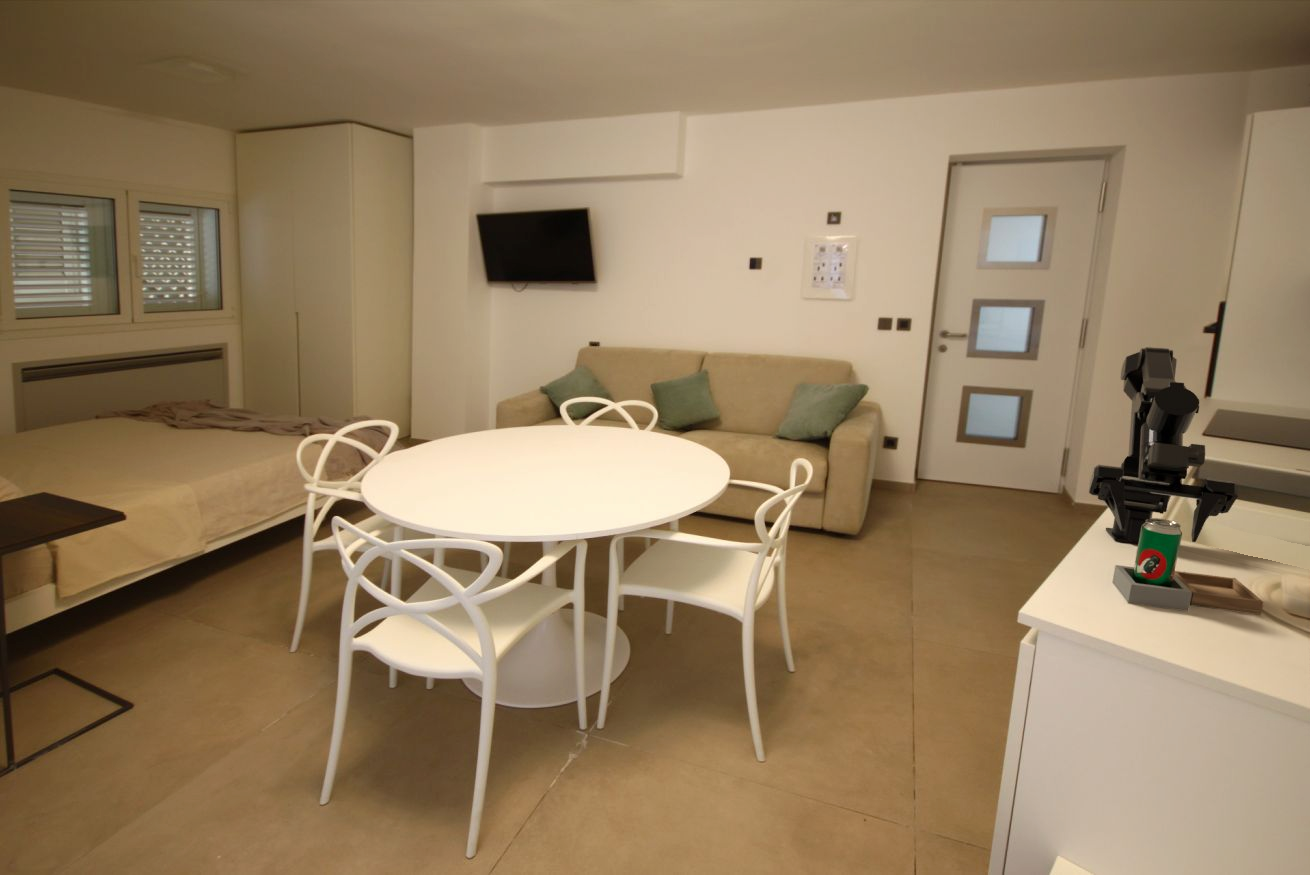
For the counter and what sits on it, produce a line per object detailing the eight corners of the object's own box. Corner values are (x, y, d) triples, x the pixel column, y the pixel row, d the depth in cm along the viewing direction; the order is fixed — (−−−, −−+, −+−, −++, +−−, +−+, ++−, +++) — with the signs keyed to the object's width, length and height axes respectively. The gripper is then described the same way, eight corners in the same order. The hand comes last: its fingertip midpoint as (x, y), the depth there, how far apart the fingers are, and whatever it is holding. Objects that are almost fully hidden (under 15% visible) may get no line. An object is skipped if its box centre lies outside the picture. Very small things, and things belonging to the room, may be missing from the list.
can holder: (1112, 582, 115) (1115, 564, 114) (1168, 589, 112) (1171, 571, 112) (1128, 602, 107) (1131, 584, 107) (1188, 611, 105) (1192, 592, 104)
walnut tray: (1168, 581, 115) (1171, 570, 115) (1233, 590, 113) (1235, 578, 112) (1190, 605, 107) (1193, 592, 107) (1260, 614, 105) (1263, 601, 104)
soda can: (1175, 605, 107) (1190, 529, 104) (1137, 601, 108) (1152, 526, 105) (1159, 591, 112) (1173, 518, 109) (1123, 587, 113) (1137, 515, 110)
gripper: (1102, 416, 115) (1095, 498, 108) (1248, 430, 106) (1251, 521, 99) (1092, 453, 123) (1084, 532, 116) (1226, 469, 115) (1227, 556, 108)
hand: (1157, 535), depth 110 cm, fingers open, 9 cm apart
